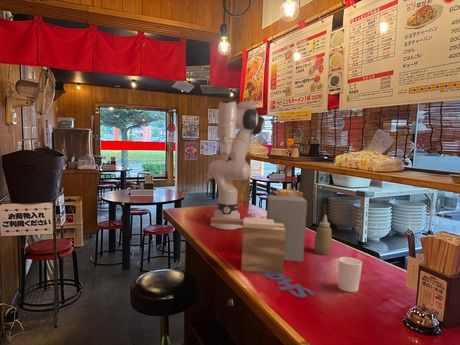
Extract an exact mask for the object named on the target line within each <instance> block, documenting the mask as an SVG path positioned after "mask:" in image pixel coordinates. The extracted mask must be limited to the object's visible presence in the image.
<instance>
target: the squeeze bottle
mask: <svg viewBox="0 0 460 345" xmlns="http://www.w3.org/2000/svg"><path fill="white" fill-rule="evenodd" d="M322 217H323V218H322V220H321V221H319V226H318V227H316V231H315V232H316V233H315V237H314V243H313V246H314V249H315V253H317V254H319V255H323V256H324V255H330V252H331V249H332V247H333V244H332V243H333V241H332V240H333V238H332V237H333V236H332V235H333V234H332V228H331V227H330V226H331V223H330V222H328V216H327V214H323V216H322Z"/></svg>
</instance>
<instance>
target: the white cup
mask: <svg viewBox="0 0 460 345" xmlns="http://www.w3.org/2000/svg"><path fill="white" fill-rule="evenodd" d="M337 264H338V265H337V266H338V267H337V287H338V289H339V290H341V291H344V292H348V293H356V292H358V291H359V286H360V281H361V276H362V275H361V274H362V267H363V261H362V260H360V259H358V258H354V257H351V256H350V257H348V256H342V257H339V258H338V262H337Z"/></svg>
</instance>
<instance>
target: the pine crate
mask: <svg viewBox="0 0 460 345" xmlns="http://www.w3.org/2000/svg"><path fill="white" fill-rule="evenodd" d="M274 224H275V229H267V228H252V227H243V234H242V249H241V250H242V251H241V265H240V266H241V267H240V268H241V269H240V270H241V272H251V271H257V272H263V273H264V274H265V273H266V272H273V273H282V274H284V265H285V264H284V262H285V260H284V250H285V234H286V230H285V227H284V225H283V223H274Z"/></svg>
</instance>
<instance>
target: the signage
mask: <svg viewBox="0 0 460 345" xmlns="http://www.w3.org/2000/svg"><path fill="white" fill-rule="evenodd" d="M252 273H254V274H260V275H261V277H262V276H263V277H265V278H267V279H268V280H270V281H272V280H273V281H275V284H277V285H278V286H279V287H276V289H277V290H279V291H281V292H283V291H287V290H288V292H289V294H291V295H293V296H295V297H297V298H302V299H303V298H306V296H307V295H306V293H307V294H308V295H310V296H315V295H316V293H314V292H313V291H312V290H310V289H308V288H306V287H303V286H302V285H301V284H300V283H296V284H290V283H291V282H293V280H292V279H291V278H290V277H289V276H287V275H285V274H284V273H283V274H282V273H273V272H266V273H265V272H262V273H260V272H257V271H252ZM293 289H296V291H297V292H296V291H294V290H293ZM305 292H306V293H305Z"/></svg>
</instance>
